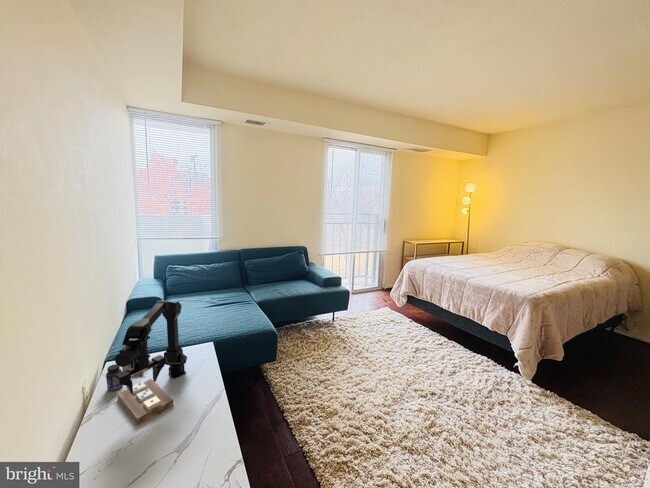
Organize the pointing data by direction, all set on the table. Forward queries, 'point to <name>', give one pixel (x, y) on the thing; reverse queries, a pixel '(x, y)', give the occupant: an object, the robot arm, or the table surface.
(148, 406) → the one pip button
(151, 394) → the three pip button
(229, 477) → the table surface
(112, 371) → the pill bottle
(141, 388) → the two pip button
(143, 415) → the board
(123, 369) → the ceramic sculpture
